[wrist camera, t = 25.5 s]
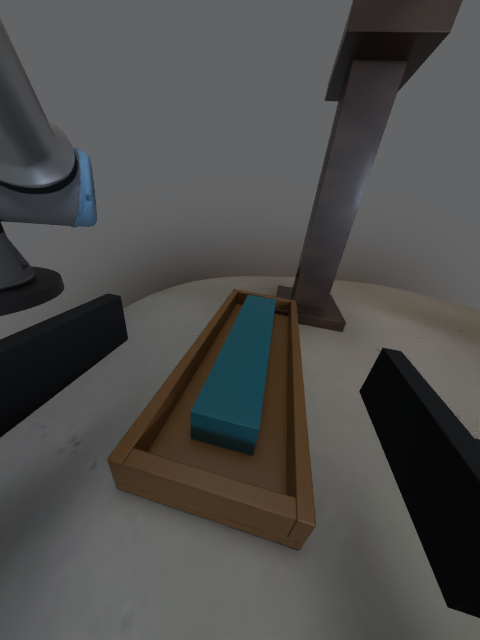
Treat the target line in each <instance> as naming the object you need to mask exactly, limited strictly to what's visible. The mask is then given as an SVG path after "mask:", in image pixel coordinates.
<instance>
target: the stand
mask: <svg viewBox="0 0 480 640" xmlns="http://www.w3.org/2000/svg"><path fill="white" fill-rule="evenodd" d="M461 3H462V0H353V3H352V6H351V10H350V13H349V17H348V20H347V23H346V26H345V30H344V33H343V36H342V40H341V43H340V46H339V50H338V53H337V56H336V60H335V63H334V66H333V70H332V73H331V77H330V80H329V84H328V89H327V93H326V98H325V101H339V102H338V106H337V110H336V114H335V118H334V122H333V126H332V131H331V135H330V139H329V143H328V147H327V151H326V155H325V159H324V163H323V167H322V171H321V176H320V180H319V184H318V188H317V192H316V196H315V200H314V205H313V208H312V212H311V217H310V221H309V225H308V229H307V233H306V237H305V241H304V245H303V249H302V254H301V257H300V261H299V266H298V270H297V274H296V278H295V282H294V286H293V288H290V287H284V286H278V291H277V297H280V298H285V299H290V300H296V305H297V316H298V323H301V324H306V325H311V326H316V327H321V328H326V329H331V330H337V331H343V329H344V327H345V324H346V322H345V320H344V318H343V316H342V314H341V313H340V311H339V309H338V307H337V305H336V303H335V301H334V300H333V298H332V296H331V294H329V293H330V290H331V288H332V285H333V282H334V279H335V276H336V273H337V269H338V267H339V264H340V261H341V258H342V255H343V252H344V248H345V246H346V243H347V240H348V237H349V234H350V231H351V228H352V225H353V222H354V219H355V216H356V213H357V210H358V207H359V204H360V201H361V198H362V195H363V192H364V189H365V186H366V184H367V181H368V178H369V175H370V172H371V169H372V166H373V163H374V160H375V157H376V154H377V151H378V148H379V145H380V142H381V139H382V136H383V133H384V130H385V127H386V124H387V121H388V118H389V115H390V112H391V109H392V106H393V103H394V100H395V97H396V94H397V92H398V91H399V90H400V89H401V88H402V87H403V85H404V84H405V83H406V82H407V81H408V80H409V79H410V77H411V76H412V75H413V74H414V73H415V72H416V71H417V69H418V68H419V67H420V66H421V65H422V64H423V63H424V62H425V60H426V59H427V58H428V57H429V56H430V55H431V53H432V52H433V51H434V50H435V49H436V48H437V47H438V46H439V44H440V43H441V42H442V41H443V40H444V39H445V38H446V36H447V35H448V34H449V33H450V31H451V29H452V26H453V24H454V21H455V18H456V16H457V13H458V11H459V8H460V5H461ZM274 314H279V315H284V316H288V314H289V309H285V308H279V307H275V313H274Z"/></svg>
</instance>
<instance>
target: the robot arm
mask: <svg viewBox="0 0 480 640" xmlns="http://www.w3.org/2000/svg"><path fill="white" fill-rule="evenodd" d="M1 221H5V222H22V223H35V224H50V225H63V226H64V225H65V226H71V227H77V226H84V227H86V226H87V227H90V226H93V225H95V223H96V221H97V212H96V200H95V190H94V182H93V174H92V167H91V160H90V157H89V155H88V154H87V153H86V152H83V151H80V150H79V149H76V148H74V149H73V147H72V145H71V143H70V141H69V140H68V138H67V136H66V135H65V134H64V133H63V131H62V130H61V129H60V128H59V127H58V126H57V125H56V124H54V123H53V122H52V121H50V120H49V119H47V118H46V116H45V114H44V112H43V110H42V107H41V105H40V103H39V101H38V99H37V97H36V94H35V92H34V90H33V88H32V86H31V84H30V81H29V79H28V77H27V75H26V73H25V71H24V68H23V66H22V64H21V62H20V60H19V57H18V55H17V53H16V51H15V49H14V47H13V45H12V42H11V40H10V38H9V36H8V34H7V32H6V29H5V27H4V25H3V23H2V21H1V18H0V293H2V292H6V291H10V290H14V289H18V288H21V287H23V286H26V285H28V284H30V283H32V282H33V281H34V280H35V279H36V276H35V274H34V271H33V270H32V267H31V266H30V265H29V263H28V262H27V261H26V260H25V259H24V257H23V256H22V255H21V254H20V252H19V251H18V250H17V249H16V248H15V246H14V245H13V244H12V243H11V242H10V240H9V239H8V238H7V236H6V234H5V232H4V229H3V227H2V224H1ZM127 340H128V336H127V330H126V324H125V318H124V312H123V307H122V301H121V297H120V296H118V295H112V294H106V295H104V296H101V297H99V298H96V299H94V300H92V301H90V302H87V303H85V304H83V305H80V306H78V307H75V308H73V309H71V310H68V311H66V312H64V313H62V314H59V315H57V316H55V317H52V318H50V319H47V320H45V321H43V322H41V323H38V324H36V325H34V326H31V327H29V328H27V329H24V330H22V331H19V332H17V333H15V334H13V335H10V336H8V337H6V338H3V339H1V340H0V437H2V436H3V435H4V434H6V433H7V432H8V431H10V430H11V429H12V428H13V427H15V426H16V425H17V424H19V423H20V422H21V421H23V420H24V419H25V418H26V417H28V416H29V415H30V414H32V413H33V412H34V411H36V410H37V409H38V408H39V407H41V406H42V405H43V404H45V403H46V402H47V401H49V400H50V399H51V398H52V397H54V396H55V395H56V394H58V393H59V392H60V391H62V390H63V389H64V388H65V387H67V386H68V385H69V384H71V383H72V382H73V381H75V380H76V379H77V378H78V377H80V376H81V375H82V374H84V373H85V372H86V371H88V370H89V369H90V368H91V367H93V366H94V365H95V364H97V363H98V362H99V361H101V360H102V359H103V358H104V357H106V356H107V355H108V354H110V353H111V352H112V351H114V350H115V349H116V348H117V347H119V346H120V345H121V344H123V343H124V342H125V341H127ZM359 392H360V394H361V397H362V399H363V402H364V404H365V406H366V409H367V411H368V414H369V416H370V419H371V421H372V424H373V426H374V428H375V431H376V433H377V436H378V438H379V441H380V443H381V446H382V448H383V450H384V453H385V455H386V458H387V460H388V463H389V465H390V468H391V470H392V472H393V475H394V477H395V480H396V482H397V485H398V487H399V490H400V492H401V494H402V497H403V499H404V502H405V504H406V507H407V509H408V512H409V514H410V516H411V519H412V521H413V524H414V526H415V529H416V531H417V534H418V536H419V538H420V541H421V543H422V546H423V548H424V551H425V553H426V556H427V558H428V560H429V563H430V565H431V568H432V570H433V573H434V575H435V578H436V580H437V582H438V585H439V587H440V590H441V592H442V595H443V597H444V600H445V602H446V604H447V607H448V608H451V609H454V610H457V611H460V612H463V613H466V614H469V615H472V616H475V617H478V618H480V440H479V439H475V438H474V437H473V436H472V435H471V434H470V433H469V431H468V430H467V429H466V428H465V427H464V425H463V424H462V423H461V422H460V421H459V419H458V418H457V417H456V416H455V415H454V414H453V412H452V411H451V410H450V409H449V408H448V406H447V405H446V404H445V403H444V402H443V400H442V399H441V398H440V397H439V396H438V395H437V393H436V392H435V391H434V390H433V389H432V387H431V386H430V385H429V384H428V383H427V381H426V380H425V379H424V378H423V377H422V375H421V374H420V373H419V372H418V371H417V370H416V368H415V367H414V366H413V365H412V364H411V362H410V361H409V360H408V359H407V358H406V356H405V355H404V354H403V353H402V352H401V351H397V350H392V349H387V348H382V350H381V352H380V354H379V356H378V358H377V360H376V361H375V363H374V365H373V367H372V369H371V371H370V373H369V375H368V376H367V378H366V380H365V382H364V384H363V386H362V388H361V389H360V391H359Z"/></svg>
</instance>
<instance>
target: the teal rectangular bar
mask: <svg viewBox="0 0 480 640" xmlns="http://www.w3.org/2000/svg"><path fill="white" fill-rule="evenodd" d="M275 303H276V300H275V299H270V298H264V297H259V296H253V295H248V296H247V298H246V300H245V302H244V304H243V306H242V308H241V310H240V312H239V314H238V316H237V318H236V320H235V322H234V324H233V326H232V328H231V330H230V332H229V334H228V336H227V338H226V341H225V343H224V345H223V347H222V349H221V351H220V353H219V355H218V357H217V359H216V361H215V363H214V365H213V367H212V369H211V371H210V373H209V375H208V377H207V379H206V381H205V383H204V385H203V387H202V389H201V391H200V393H199V396H198V398H197V400H196V402H195V404H194V406H193V408H192V410H191V438H192V439H195V440H199V441H202V442H206V443H210V444H213V445H217V446H220V447H224V448H228V449H231V450H235V451H238V452H242V453H246V454H249V455H253V454H254V450H255V446H256V442H257V438H258V434H259V429H260V421H261V414H262V406H263V398H264V390H265V382H266V374H267V366H268V358H269V351H270V343H271V335H272V327H273V319H274V311H275Z"/></svg>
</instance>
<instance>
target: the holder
mask: <svg viewBox="0 0 480 640" xmlns="http://www.w3.org/2000/svg"><path fill="white" fill-rule="evenodd" d="M248 295H253V296H259V297H264V298H270V299H275V300H276V303H275V307H279V308H285V309H289V314H288V316H284V315H279V314H274V319H273V327H272V335H271V343H270V351H269V358H268V366H267V374H266V382H265V390H264V398H263V406H262V414H261V421H260V429H259V434H258V438H257V442H256V446H255V450H254V454H253V455H249V454H246V453H242V452H238V451H235V450H231V449H228V448H224V447H220V446H217V445H213V444H210V443H206V442H202V441H199V440H195V439H192V438H191V410H192V408H193V406H194V404H195V402H196V400H197V398H198V396H199V393H200V391H201V389H202V387H203V385H204V383H205V381H206V379H207V377H208V375H209V373H210V371H211V369H212V367H213V365H214V363H215V361H216V359H217V357H218V355H219V353H220V351H221V349H222V347H223V345H224V343H225V341H226V338H227V336H228V334H229V332H230V330H231V328H232V326H233V324H234V322H235V320H236V318H237V316H238V314H239V312H240V310H241V308H242V306H243V304H244V302H245V300H246V298H247V296H248ZM274 313H275V311H274ZM107 461H108V464H109V467H110V470H111V473H112V476H113V479H114V481H115V483H116V486H117V488H118V489H120V490H123V491H126V492H129V493H132V494H135V495H138V496H141V497H144V498H147V499H150V500H153V501H156V502H159V503H162V504H165V505H168V506H171V507H173V508H176V509H179V510H182V511H185V512H188V513H191V514H194V515H197V516H200V517H203V518H206V519H209V520H212V521H215V522H218V523H221V524H224V525H227V526H230V527H233V528H235V529H238V530H241V531H244V532H247V533H250V534H253V535H256V536H259V537H262V538H265V539H268V540H271V541H274V542H277V543H280V544H283V545H286V546H289V547H292V548H294V549H297V550H299V549H300V548H301V547H302V545H303V543H305V541H306V540H307V538H308V537H309V535H310V534H311V533H312V531H313V530H314V528H315V527H316V519H315V508H314V497H313V485H312V474H311V463H310V452H309V440H308V429H307V418H306V407H305V395H304V384H303V373H302V361H301V350H300V339H299V328H298V316H297V305H296V300H290V299H285V298H280V297H274V296H268V295H263V294H257V293H252V292H246V291H241V290H235V289H234V290H233V291H232V293H231V294H230V295H229V297H228V298H227V299H226V301H225V302H224V303H223V305H222V306H221V307H220V309H219V310H218V311H217V313H216V314H215V315H214V317H213V318H212V319H211V321H210V322H209V323H208V325H207V326H206V327H205V329H204V330H203V331H202V333H201V334H200V335H199V337H198V338H197V339H196V341H195V342H194V343H193V345H192V346H191V348H190V349H189V350H188V352H187V353H186V354H185V356H184V357H183V358H182V360H181V361H180V362H179V364H178V365H177V366H176V368H175V369H174V370H173V372H172V373H171V374H170V376H169V377H168V378H167V380H166V381H165V382H164V384H163V385H162V386H161V388H160V389H159V390H158V392H157V393H156V394H155V396H154V397H153V398H152V400H151V401H150V402H149V404H148V405H147V406H146V408H145V409H144V410H143V412H142V413H141V414H140V416H139V417H138V418H137V420H136V421H135V422H134V424H133V425H132V426H131V428H130V429H129V430H128V432H127V433H126V434H125V436H124V437H123V438H122V440H121V441H120V442H119V444H118V445H117V446H116V448H115V449H114V450H113V452H112V453H111V454H110V456H109V457H108V458H107Z"/></svg>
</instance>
